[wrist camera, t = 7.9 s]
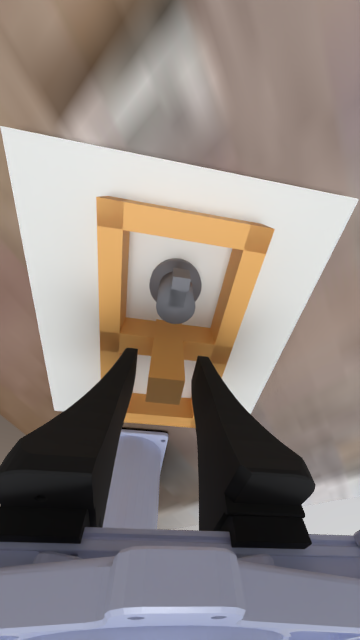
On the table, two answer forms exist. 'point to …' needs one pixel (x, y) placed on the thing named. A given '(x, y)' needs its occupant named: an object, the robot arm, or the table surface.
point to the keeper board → (160, 256)
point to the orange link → (160, 336)
